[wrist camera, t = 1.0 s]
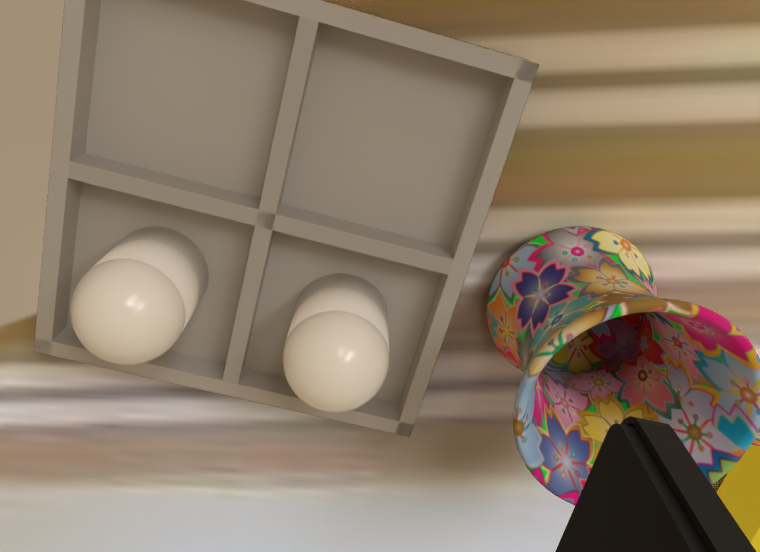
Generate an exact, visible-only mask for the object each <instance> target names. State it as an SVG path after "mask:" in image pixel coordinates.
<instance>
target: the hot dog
mask: <svg viewBox="0 0 760 552" xmlns="http://www.w3.org/2000/svg"><path fill="white" fill-rule="evenodd" d="M716 493H717V494H718V496H719V497H720V499H721V500H722V502H723V503H724V505H725V506H726V508H727V509H728V511H729V512H730V513H731V515H732V516H733V518H734V519H735V521H736V522H737V524H738V525H739V527H740V528H741V530H742V531H743V533H744V534H745V536H746V537H747V539H748V540H749V541H750V543H751V544H752V546H753V547H754V549H755V550H756V552H760V446H756V445H752V444H751V445H750V446H749V448H748V450H747V451H746V452H745V454H744V455H743V456H742V458H741V459H740V460H739V461H738V462H737V463H736V465H735V466H734V467H733V468H732V469H731V470H730V471H729V472H728V473H727V475H726V477H725V479H724V480H723V482H722V484H721V485H720V487H719V489H718V491H717V492H716Z"/></svg>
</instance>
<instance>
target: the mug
mask: <svg viewBox="0 0 760 552" xmlns="http://www.w3.org/2000/svg"><path fill="white" fill-rule="evenodd" d="M487 321H488V327H489V331H490V334H491V336H492V339H493V341H494V343H495V345H496V346H497V348H498V349H499V351H500V352H501V353H502V354H503V356H504V357H505V358H506V359H507V360H508V361H510V362H511V363H512V364H513V365H514V366H516V367H517V368H519V369H520V370H522V371H524V377H523V379H522V381H521V383H520V386H519V389H518V392H517V395H516V400H515V405H514V413H513V428H514V435H515V440H516V443H517V447H518V450H519V452H520V455H521V457H522V459H523V461H524V463H525V465H526V466H527V468H528V469H529V471H530V472H531V474H532V475H533V476H534V477H535V478H536V479H537V480H538V481H539V482H540V483H541V484H542V485H543V486H544V487H545V488H546V489H548V490H549V491H550V492H552V493H553V494H555V495H556V496H558V497H559V498H561V499H563V500H565V501H567V502H569V503H571V504H574V505H576V503H577V501H578V499H579V496H580V494H581V492H582V489H583V487H584V485H585V482H586V480H587V478H588V475H589V473H590V471H591V469H592V466H593V464H594V462H595V459H596V457H597V455H598V452H599V450H600V448H601V445H602V443H603V441H604V438H605V436H606V434H607V432H608V430H609V428H610V427H611V426H612V425H613V424H615V423H618V424H621V422H622V421H623V420H624V419H625V418H627V417H629V416H632V417H637V418H642V419H647V420H652V421H657V422H662V423H666V424H669V425H670V426H671V427H672V428H673V429H674V431H675V432H676V434H677V435H678V437H679V438H680V440H681V441H682V443H683V444H684V446H685V447H686V449H687V450H688V452H689V453H690V455H691V456H692V457H693V459H694V460H695V462H696V463H697V465H698V466H699V468H700V469H701V471H702V472H703V474H704V475H705V477H706V478H707V480H708V481H709V483H710V484H711V485H713V484H714V483H716V482H717V481H718V480H719V479H721V478H722V477H723V476H724V475H725V474H726V473H728V472H729V471H730V470H731V469H732V468H733V467H734V466H735V465H736V463H737V462H738V461H739V460H740V459H741V458H742V456H743V455H744V454H745V452H746V451H747V450H748V448H749V446H750V445H751V444H752V445H756V446H760V359H759V357H758V355H757V353H756V351H755V349H754V347H753V346H752V344H751V343H750V341H749V340H748V339H747V338H746V336H745V335H744V334H743V333H742V332H741V331H740V330H739V329H738V328H737V327H736V326H734V325H733V324H732V323H731V322H730V321H728V320H727V319H725V318H724V317H722V316H721V315H719V314H717V313H715V312H713V311H711V310H709V309H706V308H704V307H702V306H699V305H695V304H692V303H688V302H684V301H678V300H671V299H659V298H657V290H656V283H655V279H654V276H653V273H652V270H651V268H650V266H649V264H648V262H647V260H646V259H645V257H644V256H643V255H642V253H641V252H640V251H639V250H638V249H637V248H636V247H635V246H634V245H633V244H631V243H630V242H629V241H627V240H626V239H624V238H623V237H621V236H619V235H617V234H614V233H612V232H610V231H606V230H603V229H599V228H594V227H585V226H575V227H565V228H560V229H556V230H552V231H549V232H546V233H544V234H541V235H539V236H537V237H535V238H533V239H531V240H530V241H528V242H526V243H525V244H524V245H522V246H521V247H519V248H518V249H517V250H516V251H515V252H514V253H513V254H512V255H511V256H510V257H509V258H508V259H507V260H506V261H505V263H504V264H503V265H502V267H501V268H500V270H499V271H498V273H497V275H496V277H495V278H494V281H493V283H492V286H491V289H490V292H489V296H488V302H487Z"/></svg>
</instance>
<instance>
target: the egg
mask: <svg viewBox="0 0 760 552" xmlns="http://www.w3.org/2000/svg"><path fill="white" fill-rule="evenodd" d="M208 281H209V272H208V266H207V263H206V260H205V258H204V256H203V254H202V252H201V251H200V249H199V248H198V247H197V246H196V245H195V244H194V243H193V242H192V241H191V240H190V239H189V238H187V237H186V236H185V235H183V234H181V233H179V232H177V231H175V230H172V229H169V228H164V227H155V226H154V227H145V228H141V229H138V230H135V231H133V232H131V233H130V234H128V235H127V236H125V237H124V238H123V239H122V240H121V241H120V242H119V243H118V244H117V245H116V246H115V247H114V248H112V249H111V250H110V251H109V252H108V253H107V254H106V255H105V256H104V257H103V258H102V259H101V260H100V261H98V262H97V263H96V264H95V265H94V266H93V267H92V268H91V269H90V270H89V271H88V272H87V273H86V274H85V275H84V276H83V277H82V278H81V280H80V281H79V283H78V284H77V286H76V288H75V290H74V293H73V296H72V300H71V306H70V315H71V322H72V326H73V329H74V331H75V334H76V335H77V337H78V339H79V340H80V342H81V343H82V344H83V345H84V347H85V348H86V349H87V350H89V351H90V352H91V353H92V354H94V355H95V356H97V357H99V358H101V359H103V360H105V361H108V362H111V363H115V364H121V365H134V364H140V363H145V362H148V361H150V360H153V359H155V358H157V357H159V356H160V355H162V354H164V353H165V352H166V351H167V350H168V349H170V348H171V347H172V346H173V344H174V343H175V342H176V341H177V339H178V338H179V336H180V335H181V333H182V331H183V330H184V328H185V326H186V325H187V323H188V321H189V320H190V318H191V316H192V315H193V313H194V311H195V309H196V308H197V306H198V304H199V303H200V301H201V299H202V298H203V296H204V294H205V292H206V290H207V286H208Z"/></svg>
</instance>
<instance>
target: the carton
mask: <svg viewBox="0 0 760 552" xmlns="http://www.w3.org/2000/svg"><path fill="white" fill-rule="evenodd" d="M538 66H539V64H536V63H534V62H531V61H529V60H526V59H522V58H519V57H515V56H512V55H509V54H505V53H502V52H498V51H495V50H491V49H488V48H485V47H481V46H478V45H474V44H471V43H468V42H464V41H461V40H457V39H454V38H450V37H447V36H444V35H440V34H437V33H433V32H430V31H426V30H423V29H420V28H416V27H413V26H409V25H406V24H403V23H399V22H396V21H392V20H389V19H385V18H382V17H379V16H375V15H372V14H368V13H365V12H361V11H358V10H355V9H351V8H348V7H344V6H341V5H337V4H334V3H331V2H327V1H324V0H65V4H64V16H63V27H62V38H61V50H60V62H59V72H58V84H57V95H56V107H55V118H54V129H53V140H52V151H51V163H50V174H49V186H48V197H47V209H46V219H45V231H44V242H43V253H42V265H41V276H40V287H39V299H38V310H37V321H36V332H35V344H34V352H38V353H42V354H47V355H51V356H56V357H60V358H64V359H69V360H73V361H78V362H82V363H86V364H91V365H95V366H100V367H104V368H108V369H113V370H117V371H122V372H126V373H130V374H135V375H139V376H143V377H148V378H152V379H157V380H161V381H165V382H170V383H174V384H179V385H183V386H187V387H192V388H196V389H201V390H205V391H209V392H214V393H218V394H223V395H227V396H231V397H236V398H240V399H245V400H249V401H253V402H258V403H262V404H266V405H271V406H275V407H280V408H284V409H288V410H293V411H297V412H302V413H306V414H310V415H315V416H319V417H324V418H328V419H332V420H337V421H341V422H346V423H350V424H354V425H359V426H363V427H368V428H372V429H376V430H381V431H385V432H389V433H394V434H398V435H403V436H407V437H410V435H411V432H412V429H413V426H414V423H415V421H416V418H417V415H418V412H419V409H420V406H421V403H422V400H423V397H424V395H425V392H426V389H427V386H428V383H429V380H430V377H431V374H432V372H433V369H434V366H435V363H436V360H437V357H438V354H439V351H440V348H441V346H442V343H443V340H444V337H445V334H446V331H447V328H448V325H449V322H450V320H451V317H452V314H453V311H454V308H455V305H456V302H457V299H458V297H459V294H460V291H461V288H462V285H463V282H464V279H465V276H466V273H467V271H468V268H469V265H470V262H471V259H472V256H473V253H474V250H475V247H476V245H477V242H478V239H479V236H480V233H481V230H482V227H483V224H484V222H485V219H486V216H487V213H488V210H489V207H490V204H491V201H492V198H493V196H494V193H495V190H496V187H497V184H498V181H499V178H500V175H501V173H502V170H503V167H504V164H505V161H506V158H507V155H508V152H509V149H510V147H511V144H512V141H513V138H514V135H515V132H516V129H517V126H518V123H519V121H520V118H521V115H522V112H523V109H524V106H525V103H526V100H527V98H528V95H529V92H530V89H531V86H532V83H533V80H534V77H535V74H536V72H537V69H538ZM154 226H155V227H164V228H169V229H172V230H175V231H177V232H179V233H181V234H183V235H185V236H186V237H187V238H189V239H190V240H191V241H192V242H193V243H194V244H195V245H196V246H197V247H198V248H199V249H200V251H201V252H202V254H203V256H204V258H205V260H206V263H207V266H208V272H209V281H208V286H207V290H206V292H205V294H204V296H203V298H202V299H201V301H200V303H199V304H198V306H197V308H196V309H195V311H194V313H193V315H192V316H191V318H190V320H189V321H188V323H187V325H186V326H185V328H184V330H183V331H182V333H181V335H180V336H179V338H178V339H177V341H176V342H175V343H174V344H173V346H172V347H171V348H170V349H168V350H167V351H166V352H165V353H164V354H162V355H160V356H159V357H157V358H155V359H153V360H150V361H148V362H145V363H140V364H134V365H121V364H115V363H111V362H108V361H105V360H103V359H101V358H99V357H97V356H95V355H94V354H92V353H91V352H90V351H89V350H87V349H86V348H85V347H84V345H83V344H82V343H81V342H80V340H79V339H78V337H77V335H76V334H75V331H74V329H73V326H72V322H71V315H70V306H71V300H72V296H73V293H74V290H75V288H76V286H77V284H78V283H79V281H80V280H81V278H82V277H83V276H84V275H85V274H86V273H87V272H88V271H89V270H90V269H91V268H92V267H93V266H94V265H95V264H96V263H97V262H98V261H100V260H101V259H102V258H103V257H104V256H105V255H106V254H107V253H108V252H109V251H110V250H111V249H112V248H114V247H115V246H116V245H117V244H118V243H119V242H120V241H121V240H122V239H123V238H124V237H125V236H127V235H128V234H130V233H131V232H133V231H135V230H138V229H141V228H145V227H154ZM334 273H347V274H352V275H356V276H359V277H361V278H363V279H365V280H367V281H368V282H370V283H371V284H372V285H374V286H375V287H376V288H377V289H378V290H379V292H380V293H381V295H382V296H383V298H384V300H385V303H386V305H387V310H388V330H389V368H388V372H387V376H386V378H385V381H384V383H383V385H382V387H381V388H380V390H379V391H378V392H377V393H376V395H375V396H374V397H373V398H372V399H371V400H369V401H368V402H367V403H365V404H364V405H362V406H360V407H358V408H356V409H354V410H350V411H346V412H337V413H334V412H325V411H321V410H318V409H315V408H313V407H311V406H309V405H307V404H306V403H305V402H303V401H302V400H301V399H300V398H299V397H298V396H297V395H296V394H295V393H294V392H293V390H292V389H291V387H290V385H289V383H288V381H287V379H286V376H285V373H284V367H283V352H284V346H285V342H286V339H287V335H288V331H289V328H290V324H291V320H292V317H293V313H294V309H295V306H296V303H297V300H298V298H299V296H300V294H301V293H302V291H303V290H304V289H305V288H306V286H307V285H309V284H310V283H311V282H313V281H314V280H316V279H318V278H320V277H322V276H325V275H328V274H334Z"/></svg>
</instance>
